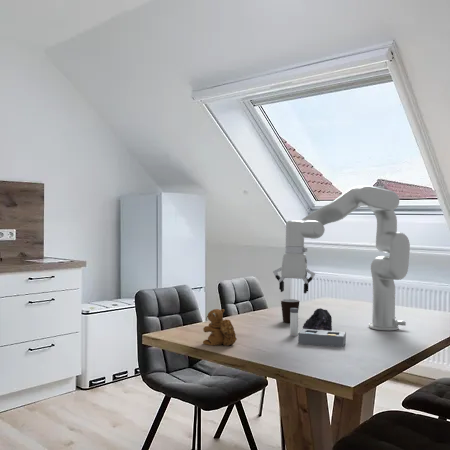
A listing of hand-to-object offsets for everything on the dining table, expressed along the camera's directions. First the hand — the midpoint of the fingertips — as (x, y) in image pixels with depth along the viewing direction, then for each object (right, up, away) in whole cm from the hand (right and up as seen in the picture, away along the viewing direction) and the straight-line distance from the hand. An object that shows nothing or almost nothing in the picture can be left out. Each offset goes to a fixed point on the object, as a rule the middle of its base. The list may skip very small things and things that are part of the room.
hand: (293, 292), depth 225 cm
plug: (0, -18, 0) cm, 18 cm away
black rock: (+12, -18, +10) cm, 24 cm away
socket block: (+9, -18, -13) cm, 24 cm away
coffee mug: (+3, -17, +29) cm, 34 cm away
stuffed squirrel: (-30, -18, -16) cm, 38 cm away
